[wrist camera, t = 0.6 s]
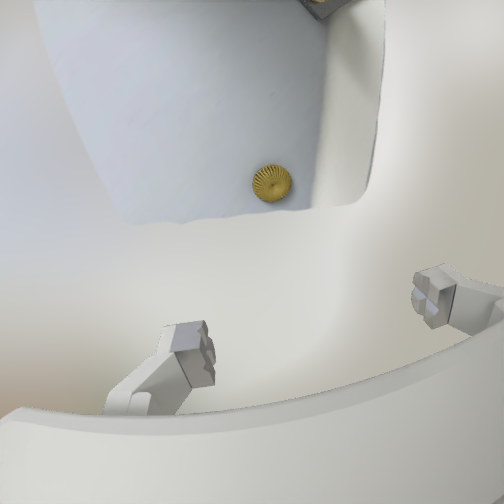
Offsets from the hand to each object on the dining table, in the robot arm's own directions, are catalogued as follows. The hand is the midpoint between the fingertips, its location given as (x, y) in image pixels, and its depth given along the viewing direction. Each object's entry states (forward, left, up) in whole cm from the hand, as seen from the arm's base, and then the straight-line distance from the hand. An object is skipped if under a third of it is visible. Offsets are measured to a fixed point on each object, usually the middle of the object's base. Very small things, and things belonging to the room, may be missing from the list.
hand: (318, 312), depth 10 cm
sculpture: (+21, -2, -48) cm, 52 cm away
